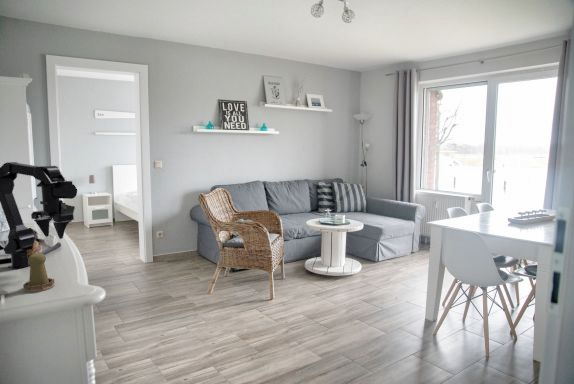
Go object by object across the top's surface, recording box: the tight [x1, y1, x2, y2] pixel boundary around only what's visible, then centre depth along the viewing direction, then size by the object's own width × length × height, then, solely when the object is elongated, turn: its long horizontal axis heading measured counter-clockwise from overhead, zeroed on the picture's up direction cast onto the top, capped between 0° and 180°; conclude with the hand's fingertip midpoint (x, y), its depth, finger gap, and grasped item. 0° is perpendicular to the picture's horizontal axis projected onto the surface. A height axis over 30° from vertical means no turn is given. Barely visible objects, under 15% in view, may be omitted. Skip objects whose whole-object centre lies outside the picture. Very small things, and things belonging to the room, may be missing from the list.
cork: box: [28, 253, 49, 286], centre depth 139 cm, size 6×6×11 cm
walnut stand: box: [22, 277, 55, 293], centre depth 139 cm, size 9×9×2 cm
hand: (54, 237), depth 159 cm, fingers open, 9 cm apart
